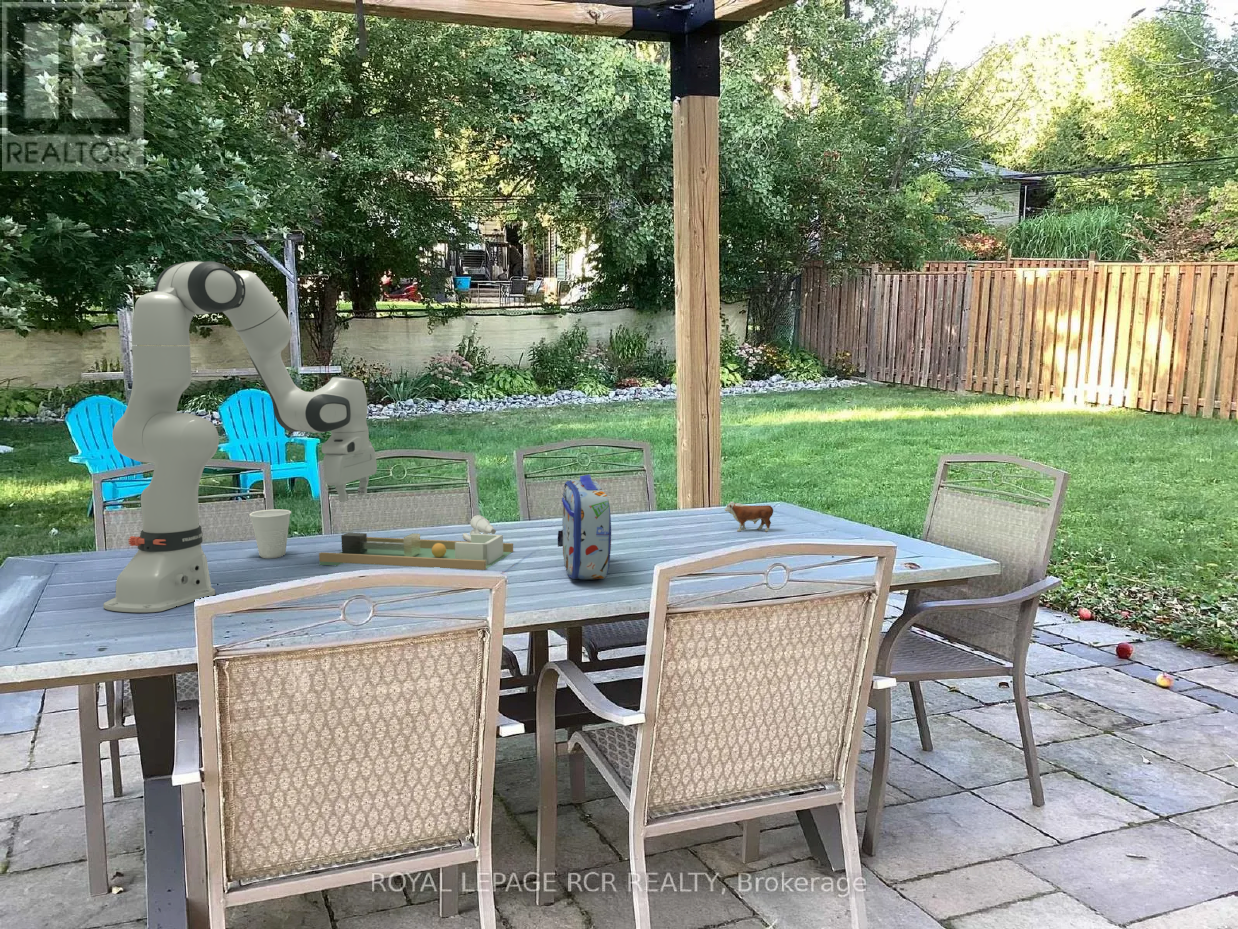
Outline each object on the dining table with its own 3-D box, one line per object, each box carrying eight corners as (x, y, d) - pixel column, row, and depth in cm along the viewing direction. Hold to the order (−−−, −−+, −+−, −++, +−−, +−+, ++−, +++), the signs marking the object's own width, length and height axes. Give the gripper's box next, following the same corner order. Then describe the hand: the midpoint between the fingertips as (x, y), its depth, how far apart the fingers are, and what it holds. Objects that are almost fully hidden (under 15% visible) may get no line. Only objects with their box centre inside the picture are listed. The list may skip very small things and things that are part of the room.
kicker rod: (411, 557, 243) (411, 537, 243) (340, 553, 248) (339, 534, 247) (420, 553, 248) (419, 533, 247) (350, 549, 252) (349, 530, 252)
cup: (280, 561, 246) (277, 517, 244) (243, 559, 248) (241, 515, 246) (300, 552, 255) (298, 509, 254) (265, 551, 257) (263, 508, 256)
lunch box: (556, 559, 246) (555, 470, 243) (598, 558, 247) (597, 469, 244) (569, 587, 219) (567, 487, 216) (616, 585, 220) (615, 486, 217)
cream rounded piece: (486, 555, 258) (471, 542, 256) (470, 545, 271) (456, 533, 269) (506, 532, 260) (491, 519, 258) (490, 523, 273) (476, 510, 271)
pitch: (484, 574, 231) (484, 561, 231) (319, 565, 241) (318, 553, 240) (513, 555, 251) (513, 543, 250) (359, 548, 260) (359, 536, 260)
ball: (443, 559, 242) (442, 545, 242) (429, 558, 243) (429, 544, 243) (448, 556, 246) (448, 542, 245) (435, 555, 246) (434, 541, 246)
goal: (487, 565, 236) (486, 544, 235) (455, 563, 237) (454, 542, 237) (503, 555, 246) (502, 535, 246) (472, 553, 248) (472, 533, 247)
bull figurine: (724, 528, 283) (724, 500, 282) (772, 529, 281) (773, 500, 280) (724, 531, 278) (724, 502, 277) (773, 532, 277) (773, 503, 275)
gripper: (359, 437, 257) (361, 490, 259) (317, 447, 237) (320, 505, 239) (381, 437, 255) (384, 491, 257) (341, 447, 235) (344, 505, 237)
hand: (353, 498), depth 248 cm, fingers open, 8 cm apart
